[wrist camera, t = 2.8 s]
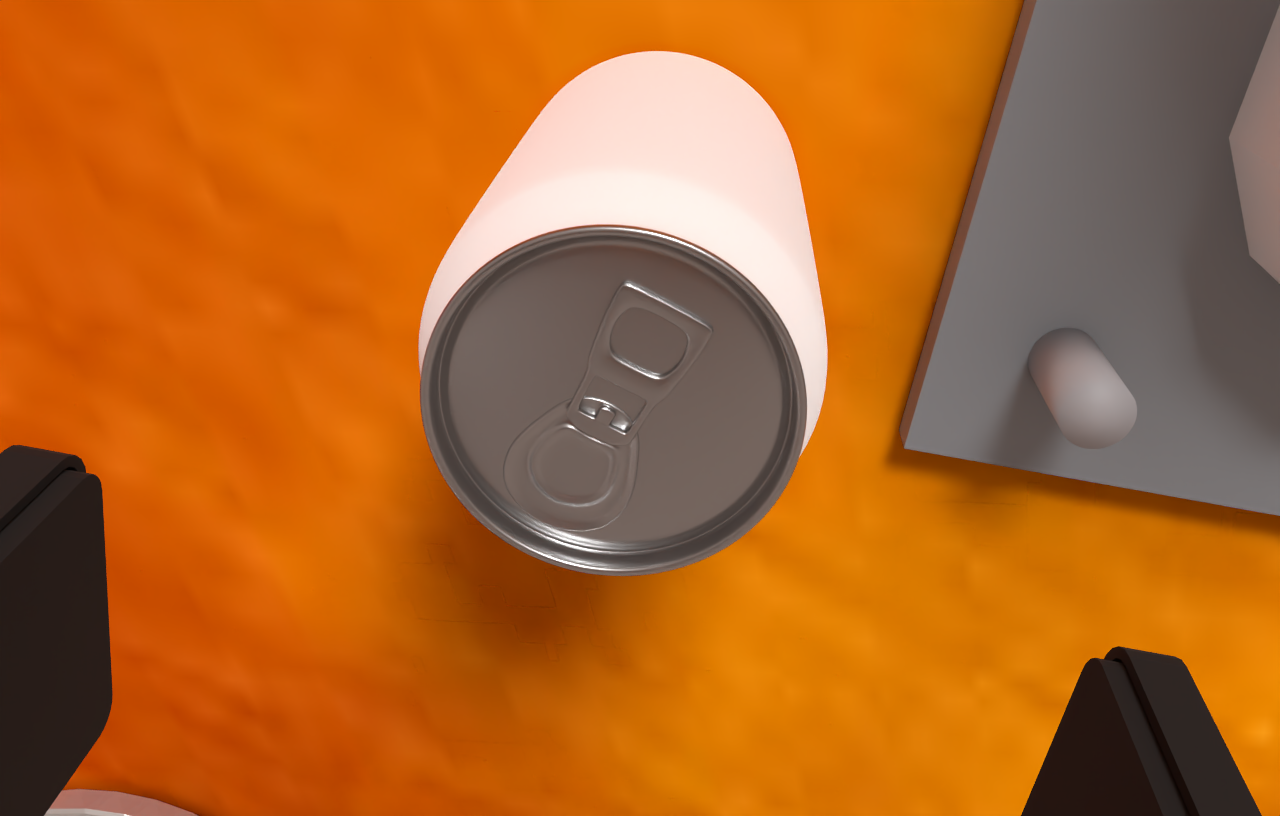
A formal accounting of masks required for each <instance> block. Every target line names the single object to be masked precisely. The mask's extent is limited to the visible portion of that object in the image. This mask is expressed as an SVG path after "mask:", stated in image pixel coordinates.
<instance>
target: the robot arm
mask: <svg viewBox="0 0 1280 816" xmlns="http://www.w3.org/2000/svg"><path fill="white" fill-rule="evenodd" d="M111 704H112V675H111V656H110V636H109V616H108V597H107V577H106V557H105V538H104V518H103V498H102V487H101V482H100V480H99V478H98V477H97V476H96V475H94V474H89V473H86V469H85V466H84V464H83V461H82V459H80V458H79V457H77V456H76V455H71V454H66V453H60V452H55V451H49V450H44V449H38V448H33V447H27V446H22V445H13V446H11V447H9V448H7V449H6V450H4V451H3V452H2V453H1V454H0V816H198V815H196V814H194V813H192V812H189V811H187V810H184V809H181V808H178V807H175V806H173V805H170V804H167V803H164V802H161V801H159V800H156V799H151V798H146V797H141V796H137V795H132V794H127V793H123V792H116V791H101V790H86V789H74V790H63V791H62V789H63V788H64V787H65V785H66V784H67V782H68V781H69V779H70V778H71V777H72V775H73V774H74V772H75V771H76V769H77V768H78V766H79V765H80V764H81V762H82V761H83V759H84V758H85V756H86V755H87V754H88V752H89V751H90V749H91V748H92V746H93V745H94V744H95V742H96V741H97V739H98V738H99V736H100V735H101V733H102V731H103V729H104V727H105V725H106V722H107V720H108V717H109V713H110V710H111ZM1021 816H1262V815H1261V813H1260V811H1259V809H1258V807H1257V805H1256V803H1255V801H1254V799H1253V797H1252V795H1251V793H1250V791H1249V789H1248V787H1247V785H1246V784H1245V782H1244V780H1243V778H1242V776H1241V774H1240V772H1239V770H1238V768H1237V766H1236V764H1235V762H1234V760H1233V758H1232V756H1231V754H1230V752H1229V750H1228V748H1227V746H1226V744H1225V742H1224V740H1223V738H1222V736H1221V734H1220V732H1219V730H1218V728H1217V726H1216V724H1215V722H1214V720H1213V718H1212V716H1211V714H1210V712H1209V710H1208V708H1207V706H1206V704H1205V702H1204V700H1203V698H1202V696H1201V694H1200V692H1199V690H1198V688H1197V686H1196V684H1195V682H1194V680H1193V678H1192V676H1191V674H1190V672H1189V670H1188V668H1187V667H1186V665H1185V664H1184V663H1183V661H1182V660H1181V659H1179V658H1177V657H1174V656H1168V655H1163V654H1157V653H1152V652H1146V651H1141V650H1136V649H1130V648H1125V647H1115V648H1112V649H1111V650H1110V651H1109V652H1108V653H1107V654H1106V656H1105V658H1104V659H1098V658H1092V659H1090V660H1089V661H1088V662H1087V663H1086V664H1085V666H1084V668H1083V670H1082V672H1081V674H1080V677H1079V679H1078V682H1077V684H1076V686H1075V689H1074V691H1073V693H1072V696H1071V698H1070V701H1069V703H1068V705H1067V708H1066V710H1065V712H1064V715H1063V717H1062V720H1061V722H1060V724H1059V727H1058V729H1057V731H1056V734H1055V736H1054V739H1053V741H1052V743H1051V746H1050V748H1049V750H1048V753H1047V755H1046V758H1045V760H1044V762H1043V765H1042V767H1041V769H1040V772H1039V774H1038V777H1037V779H1036V781H1035V784H1034V786H1033V788H1032V791H1031V793H1030V796H1029V798H1028V800H1027V803H1026V805H1025V808H1024V810H1023V812H1022V815H1021Z"/></svg>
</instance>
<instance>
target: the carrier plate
mask: <svg viewBox="0 0 1280 816" xmlns="http://www.w3.org/2000/svg"><path fill="white" fill-rule="evenodd" d="M899 432H900V436H901V439H902V443H903V447H904V448H905V449H910V450H916V451H922V452H927V453H933V454H938V455H944V456H949V457H955V458H961V459H966V460H972V461H977V462H983V463H988V464H994V465H1000V466H1005V467H1011V468H1016V469H1022V470H1027V471H1033V472H1039V473H1044V474H1050V475H1055V476H1061V477H1067V478H1072V479H1078V480H1083V481H1089V482H1094V483H1100V484H1106V485H1111V486H1117V487H1122V488H1128V489H1133V490H1139V491H1145V492H1150V493H1156V494H1161V495H1167V496H1172V497H1178V498H1184V499H1189V500H1195V501H1200V502H1206V503H1211V504H1217V505H1223V506H1228V507H1234V508H1239V509H1245V510H1251V511H1256V512H1262V513H1267V514H1273V515H1278V516H1280V0H1024V4H1023V7H1022V10H1021V14H1020V17H1019V21H1018V24H1017V28H1016V31H1015V34H1014V38H1013V41H1012V45H1011V48H1010V51H1009V55H1008V58H1007V62H1006V65H1005V69H1004V72H1003V75H1002V79H1001V82H1000V86H999V89H998V93H997V96H996V99H995V103H994V106H993V110H992V113H991V117H990V120H989V123H988V127H987V130H986V134H985V137H984V140H983V144H982V147H981V151H980V154H979V158H978V161H977V164H976V168H975V171H974V175H973V178H972V182H971V185H970V188H969V192H968V195H967V199H966V202H965V206H964V209H963V212H962V216H961V219H960V223H959V226H958V230H957V233H956V236H955V240H954V243H953V247H952V250H951V253H950V257H949V260H948V264H947V267H946V271H945V274H944V277H943V281H942V284H941V288H940V291H939V295H938V298H937V301H936V305H935V308H934V312H933V315H932V319H931V322H930V325H929V329H928V332H927V336H926V339H925V342H924V346H923V349H922V353H921V356H920V360H919V363H918V366H917V370H916V373H915V377H914V380H913V384H912V387H911V390H910V394H909V397H908V401H907V404H906V408H905V411H904V414H903V418H902V421H901V425H900V428H899Z"/></svg>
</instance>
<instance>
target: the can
mask: <svg viewBox="0 0 1280 816" xmlns="http://www.w3.org/2000/svg"><path fill="white" fill-rule="evenodd" d="M419 368H420V376H421V381H420V404H421V414H422V421H423V426H424V430H425V434H426V438H427V441H428V444H429V447H430V450H431V453H432V455H433V458H434V460H435V462H436V464H437V466H438V468H439V470H440V472H441V474H442V476H443V477H444V479H445V481H446V482H447V484H448V485H449V487H450V488H451V490H452V491H453V493H454V494H455V495H456V497H457V498H458V499H459V500H460V502H461V503H462V504H463V505H464V506H465V508H466V509H467V510H468V511H469V512H470V513H471V514H472V515H473V516H474V517H475V518H476V519H477V520H478V521H479V522H480V523H482V524H483V525H484V526H485V527H486V528H487V529H489V530H490V531H491V532H492V533H494V534H495V535H497V536H498V537H499V538H501V539H502V540H504V541H505V542H507V543H508V544H510V545H512V546H513V547H515V548H517V549H519V550H520V551H522V552H524V553H526V554H528V555H530V556H533V557H535V558H537V559H539V560H542V561H544V562H547V563H550V564H553V565H556V566H559V567H562V568H566V569H570V570H574V571H578V572H584V573H589V574H597V575H608V576H636V575H647V574H654V573H660V572H665V571H670V570H674V569H677V568H681V567H684V566H687V565H690V564H693V563H695V562H698V561H701V560H703V559H705V558H707V557H709V556H711V555H713V554H715V553H717V552H719V551H721V550H723V549H724V548H726V547H728V546H729V545H731V544H732V543H734V542H735V541H737V540H738V539H739V538H741V537H742V536H743V535H745V534H746V533H747V532H748V531H750V530H751V529H752V528H753V527H754V526H755V525H756V524H757V523H758V522H759V521H760V520H761V519H762V518H763V517H764V516H765V515H766V514H767V513H768V512H769V510H770V509H771V508H772V507H773V505H774V504H775V503H776V501H777V500H778V499H779V497H780V496H781V494H782V492H783V491H784V489H785V488H786V486H787V484H788V482H789V480H790V478H791V476H792V474H793V472H794V470H795V467H796V465H797V462H798V459H799V457H800V455H801V454H802V452H803V450H804V448H805V447H806V445H807V443H808V441H809V439H810V437H811V435H812V432H813V430H814V428H815V425H816V422H817V420H818V416H819V413H820V410H821V406H822V402H823V397H824V391H825V385H826V374H827V339H826V329H825V321H824V314H823V307H822V301H821V295H820V289H819V283H818V277H817V271H816V265H815V260H814V254H813V249H812V243H811V237H810V232H809V226H808V221H807V215H806V210H805V205H804V199H803V194H802V189H801V184H800V179H799V174H798V170H797V165H796V161H795V158H794V154H793V151H792V148H791V145H790V142H789V140H788V137H787V135H786V133H785V131H784V129H783V127H782V125H781V123H780V122H779V120H778V118H777V117H776V115H775V114H774V112H773V111H772V109H771V108H770V107H769V105H768V104H767V103H766V102H765V100H764V99H763V98H762V97H761V96H760V95H759V94H758V93H757V92H756V91H755V90H754V89H753V88H752V87H751V86H750V85H748V84H747V83H746V82H745V81H743V80H742V79H741V78H739V77H738V76H736V75H735V74H733V73H732V72H730V71H729V70H727V69H725V68H723V67H721V66H719V65H717V64H715V63H713V62H710V61H708V60H705V59H702V58H699V57H695V56H692V55H687V54H682V53H676V52H666V51H649V52H639V53H632V54H627V55H623V56H619V57H616V58H613V59H610V60H607V61H605V62H602V63H600V64H598V65H596V66H594V67H592V68H590V69H588V70H586V71H585V72H583V73H582V74H580V75H579V76H577V77H576V78H574V79H573V80H572V81H570V82H569V83H568V84H567V85H565V86H564V87H563V88H562V89H561V90H560V91H559V92H558V93H557V94H556V95H555V96H554V97H553V98H552V99H551V101H550V102H549V103H548V104H547V105H546V107H545V108H544V109H543V110H542V112H541V113H540V114H539V116H538V117H537V118H536V120H535V121H534V123H533V124H532V125H531V127H530V128H529V130H528V131H527V132H526V134H525V135H524V137H523V138H522V140H521V141H520V142H519V144H518V145H517V147H516V148H515V150H514V151H513V153H512V154H511V155H510V157H509V158H508V160H507V161H506V163H505V164H504V166H503V167H502V169H501V170H500V172H499V173H498V174H497V176H496V177H495V179H494V180H493V182H492V183H491V185H490V186H489V188H488V189H487V191H486V192H485V194H484V195H483V197H482V198H481V200H480V201H479V203H478V204H477V206H476V207H475V209H474V210H473V212H472V213H471V214H470V216H469V218H468V219H467V221H466V222H465V224H464V225H463V227H462V228H461V230H460V231H459V233H458V234H457V236H456V238H455V239H454V241H453V242H452V244H451V246H450V247H449V249H448V251H447V253H446V254H445V256H444V258H443V260H442V262H441V264H440V265H439V267H438V269H437V272H436V274H435V276H434V278H433V281H432V284H431V286H430V289H429V292H428V295H427V299H426V302H425V305H424V309H423V314H422V319H421V325H420V332H419Z"/></svg>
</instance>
